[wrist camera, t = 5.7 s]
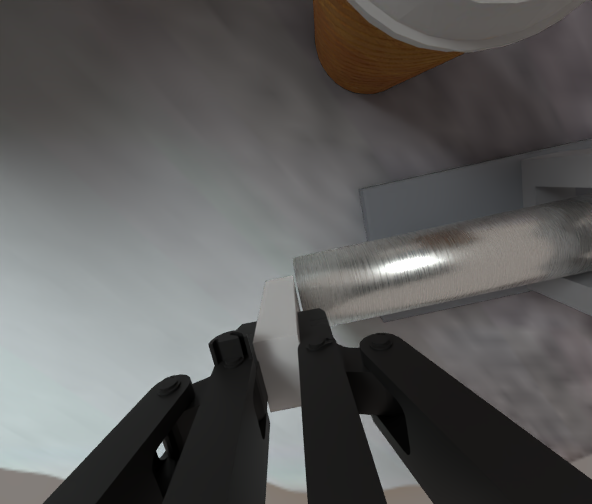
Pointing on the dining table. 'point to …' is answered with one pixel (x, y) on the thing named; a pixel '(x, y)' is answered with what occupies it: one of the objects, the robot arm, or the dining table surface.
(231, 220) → the dining table surface
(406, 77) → the disposable coffee cup
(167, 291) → the dining table surface
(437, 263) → the aluminium tube
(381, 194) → the collar bench
